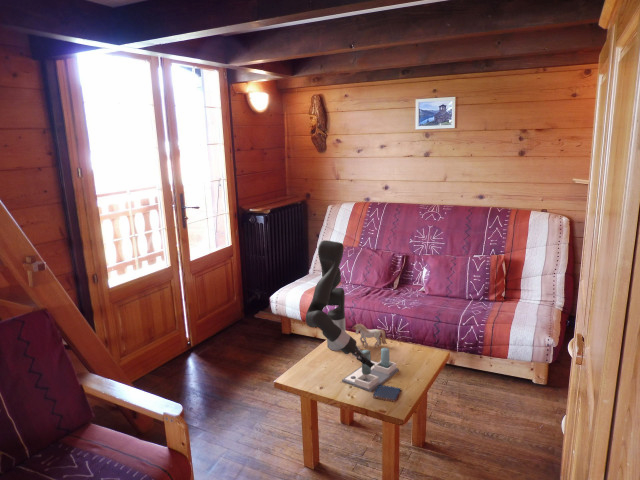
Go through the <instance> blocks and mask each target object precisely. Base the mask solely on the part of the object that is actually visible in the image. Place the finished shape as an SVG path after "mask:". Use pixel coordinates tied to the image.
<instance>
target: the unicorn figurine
mask: <svg viewBox="0 0 640 480" xmlns="http://www.w3.org/2000/svg"><path fill="white" fill-rule="evenodd" d="M352 329H354V330H355V335H359V334H360V337H359V341H360V343H361V345H363V347H362V348H364V349H366V348H368V347H369V343H367V338H368V339H372V338H374V339H375V340H376V342H375V343H374V349H377V348H378V347H380V346H381V345H384V346H385V345H388V342H387V337H386V331H385V330H384V329H377V328H375V329H368V328H367V327H366V326H365V325H363V324H362V323H357V324H355V325H354V326H353V327H352Z"/></svg>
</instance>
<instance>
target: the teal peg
mask: <svg viewBox="0 0 640 480" xmlns="http://www.w3.org/2000/svg"><path fill="white" fill-rule="evenodd" d="M362 353H363V354H364V355H365V357H366V358H368V360H370V361H371V360H372V359H371V357H372V356H371V354H372V353H371V350H369V349H363V350H362ZM361 366H362V373H363V374H365V375H369V374H371V368H370V367H369V366H367V365H366V364H365V365H364V364H363V363H361Z"/></svg>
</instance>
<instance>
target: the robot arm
mask: <svg viewBox="0 0 640 480" xmlns="http://www.w3.org/2000/svg"><path fill="white" fill-rule="evenodd" d="M317 249H318V250H317V256H318V259H319V263H320V267H321V278H320V279H319V280H318V281H317V283H316V285H315V288H314V292H313V295H312V300H311V302H310V305H309V307H308V309H307V311H306V313H305V323H306V325H307V326H308V327H309V328H318V329H319V330H321V331H322V332H321V333H322V335H323V337H324V338H326V341H327V344H326V345H327V346H326V347H327V348H328V349H329V350H331V351H332V352H333V351H335V352H339V351H340V352H342V353H343V354H344V355H349V354H351V356H353V358H355V359H356V360H357V361H359V362H360V363H361V364H362V363H363V364H364V365H365V364H366V365H367V366H369V367H370V368H371V367H372V366H373V365H374V364H373V363H372V362H371V361H370V360H368V358H366V357H365V355H364V354H363V353H362V351H363V350H362V349H361V348H360V347H359V346H357V340H356V339H355V338H354V337H352V336H351V335H350V334H349V333H347V331H346V311H345V310H346V309H345V305H346V304H345V301H346V297H345V296H346V295H345V293H346V292H345V289H344V288H342V287H338V286H339V285H340V283H341V280H342V274H341V269H340V265H341V262H342V259H343V256H344V249H345V247H344V244H343V243H342V242H338V241H332V240H326V239H325V240H321V241H320V242H319V244H318V248H317ZM327 306H331V307H333V306H334V307H335V306H337V307H336V308H333V309H331V310H329V311H328V312H327V313H326V312H325V311H324V309H325V308H326V307H327Z"/></svg>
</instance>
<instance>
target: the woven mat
mask: <svg viewBox="0 0 640 480" xmlns="http://www.w3.org/2000/svg"><path fill="white" fill-rule="evenodd" d="M378 386H379V387H377V388H376V389H375V390H374V391H373V394H372V398H373V399H379V400H383V401H386V402H387V401H389V402H393V403H396V402H397V400H399V397H400V395H401V394H402V393H401V392H402V391H403V390H402V388H400V387H395V386H389V385H383V384H381V385H378Z"/></svg>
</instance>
